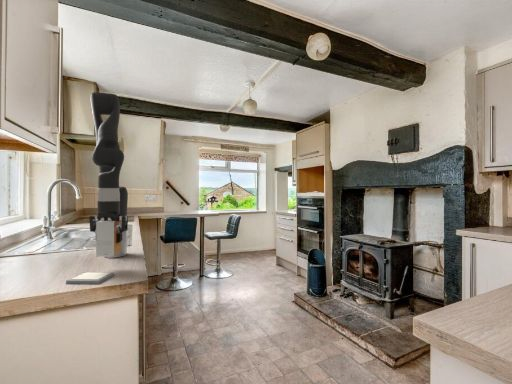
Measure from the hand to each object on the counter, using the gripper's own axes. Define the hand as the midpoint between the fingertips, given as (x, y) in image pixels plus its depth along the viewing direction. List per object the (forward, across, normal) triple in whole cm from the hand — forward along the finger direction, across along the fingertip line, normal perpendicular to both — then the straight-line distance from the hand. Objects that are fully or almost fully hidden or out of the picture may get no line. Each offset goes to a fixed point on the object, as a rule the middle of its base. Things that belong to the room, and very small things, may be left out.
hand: (109, 242), depth 99 cm
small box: (+5, 0, 0) cm, 5 cm away
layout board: (+11, 0, +10) cm, 15 cm away
